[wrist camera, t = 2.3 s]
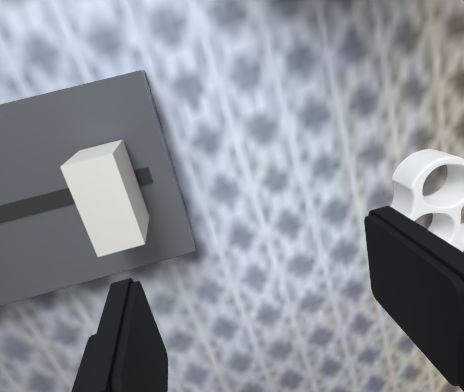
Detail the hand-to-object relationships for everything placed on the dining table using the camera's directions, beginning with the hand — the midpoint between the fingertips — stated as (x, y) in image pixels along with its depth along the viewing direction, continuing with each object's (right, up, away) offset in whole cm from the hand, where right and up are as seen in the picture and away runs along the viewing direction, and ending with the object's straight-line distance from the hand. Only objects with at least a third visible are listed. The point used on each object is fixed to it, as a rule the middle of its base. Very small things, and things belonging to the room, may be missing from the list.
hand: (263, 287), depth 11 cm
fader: (-9, +4, +15) cm, 18 cm away
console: (-17, +3, +17) cm, 25 cm away
